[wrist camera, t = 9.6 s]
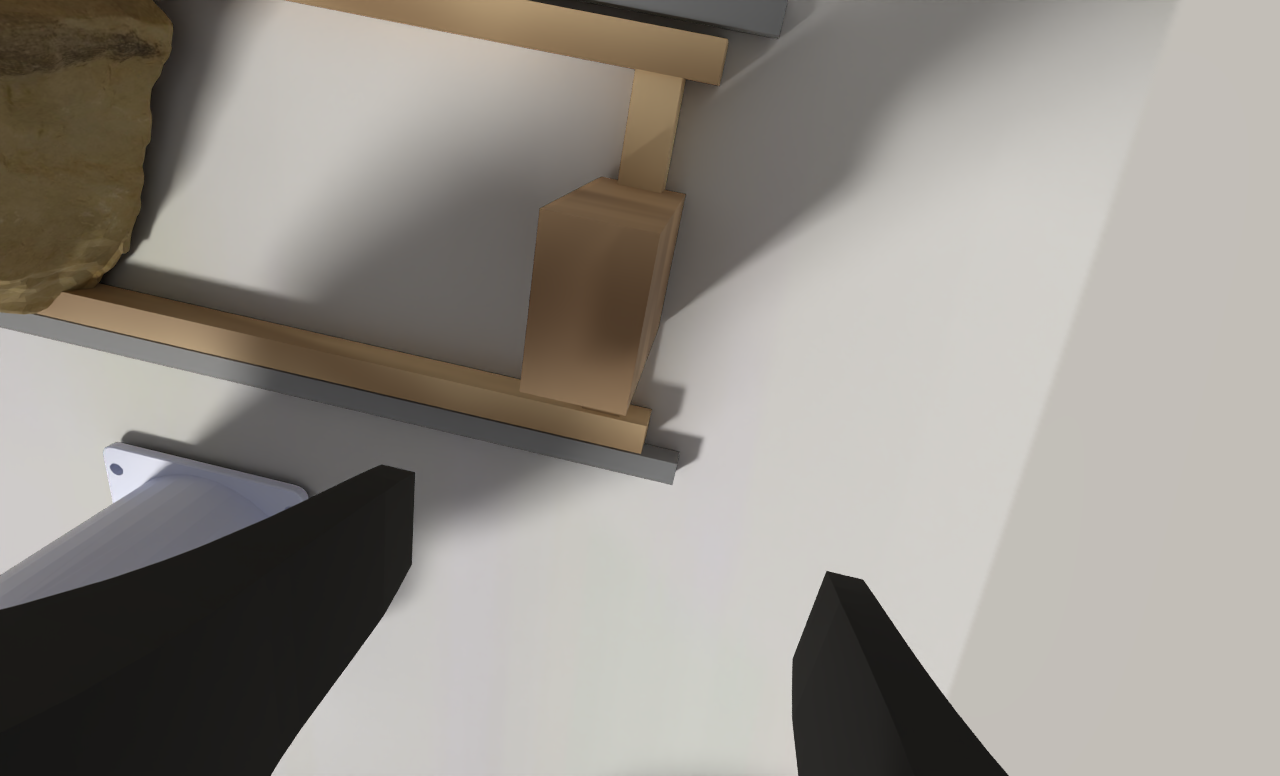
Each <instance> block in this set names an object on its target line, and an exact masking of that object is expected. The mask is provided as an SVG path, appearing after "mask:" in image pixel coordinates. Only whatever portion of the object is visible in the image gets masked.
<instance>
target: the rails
mask: <svg viewBox="0 0 1280 776" xmlns="http://www.w3.org/2000/svg"><path fill="white" fill-rule="evenodd" d="M578 1H583V2H589V3H594V4H599V5H604V6H609V7H615V8H620V9H625V10H630V11H636V12H641V13H646V14H651V15H656V16H662V17H667V18H672V19H677V20H682V21H688V22H693V23H698V24H703V25H708V26H714V27H719V28H724V29H729V30H735V31H740V32H745V33H750V34H755V35H761V36H766V37H771V38H776V39H778V38H779V36H780V32H781V28H782V24H783V19H784V15H785V11H786V7H787V3H788V0H578ZM0 327H1V328H6V329H10V330H14V331H18V332H23V333H27V334H31V335H35V336H40V337H44V338H48V339H52V340H57V341H61V342H65V343H69V344H74V345H78V346H82V347H86V348H91V349H95V350H99V351H104V352H108V353H112V354H116V355H121V356H125V357H129V358H133V359H138V360H142V361H146V362H150V363H155V364H159V365H163V366H167V367H172V368H176V369H180V370H184V371H189V372H193V373H197V374H201V375H206V376H210V377H214V378H219V379H223V380H227V381H231V382H236V383H240V384H244V385H248V386H253V387H257V388H261V389H265V390H270V391H274V392H278V393H282V394H287V395H291V396H295V397H299V398H304V399H308V400H312V401H316V402H321V403H325V404H329V405H334V406H338V407H342V408H346V409H351V410H355V411H359V412H363V413H368V414H372V415H376V416H380V417H385V418H389V419H393V420H397V421H402V422H406V423H410V424H414V425H419V426H423V427H427V428H431V429H436V430H440V431H444V432H449V433H453V434H457V435H461V436H466V437H470V438H474V439H478V440H483V441H487V442H491V443H495V444H500V445H504V446H508V447H512V448H517V449H521V450H525V451H529V452H534V453H538V454H542V455H546V456H551V457H555V458H559V459H564V460H568V461H572V462H576V463H581V464H585V465H589V466H593V467H598V468H602V469H606V470H610V471H615V472H619V473H623V474H627V475H632V476H636V477H640V478H644V479H649V480H653V481H657V482H661V483H666V484H670V485H672V484H673V480H674V476H675V472H676V467H677V463H678V457H679V452H677V451H673V450H669V449H664V448H660V447H656V446H651V445H647V444H644V445H643V449H642V452H641V454H639V453H634V452H630V451H626V450H621V449H617V448H613V447H609V446H604V445H600V444H596V443H591V442H587V441H583V440H578V439H574V438H570V437H566V436H561V435H557V434H553V433H548V432H544V431H540V430H535V429H531V428H527V427H523V426H518V425H514V424H510V423H505V422H501V421H497V420H492V419H488V418H484V417H480V416H475V415H471V414H467V413H462V412H458V411H454V410H449V409H445V408H441V407H437V406H432V405H428V404H424V403H419V402H415V401H411V400H406V399H402V398H398V397H394V396H389V395H385V394H381V393H376V392H372V391H368V390H363V389H359V388H355V387H351V386H346V385H342V384H338V383H333V382H329V381H325V380H320V379H316V378H312V377H308V376H303V375H299V374H295V373H290V372H286V371H282V370H277V369H273V368H269V367H265V366H260V365H256V364H252V363H247V362H243V361H239V360H234V359H230V358H226V357H222V356H217V355H213V354H209V353H204V352H200V351H196V350H191V349H187V348H183V347H179V346H174V345H170V344H166V343H161V342H157V341H153V340H148V339H144V338H140V337H136V336H131V335H127V334H123V333H118V332H114V331H110V330H106V329H101V328H97V327H93V326H88V325H84V324H80V323H75V322H71V321H67V320H63V319H58V318H54V317H50V316H45V315H41V314H37V313H34V314H11V313H1V312H0Z"/></svg>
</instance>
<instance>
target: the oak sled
mask: <svg viewBox="0 0 1280 776" xmlns="http://www.w3.org/2000/svg"><path fill="white" fill-rule="evenodd" d="M286 1H291V2H296V3H301V4H306V5H311V6H317V7H322V8H327V9H332V10H337V11H342V12H347V13H352V14H357V15H362V16H367V17H372V18H377V19H382V20H387V21H393V22H398V23H403V24H408V25H413V26H418V27H423V28H428V29H433V30H438V31H443V32H448V33H453V34H458V35H464V36H469V37H474V38H479V39H484V40H489V41H494V42H499V43H504V44H509V45H514V46H519V47H524V48H529V49H534V50H540V51H545V52H550V53H555V54H560V55H565V56H570V57H575V58H580V59H585V60H590V61H595V62H600V63H605V64H611V65H616V66H621V67H626V68H631V69H635V74H634V80H633V87H632V93H631V99H630V106H629V112H628V118H627V125H626V131H625V137H624V143H623V150H622V156H621V162H620V169H619V175H618V180H616V179H611V178H606V177H599V178H597V179H595V180H594V181H592V182H590V183H588V184H586V185H584V186H582V187H580V188H578V189H576V190H574V191H572V192H570V193H568V194H567V195H565V196H563V197H561V198H559V199H557V200H555V201H553V202H551V203H549V204H547V205H545V206H543V207H542V208H540V210H539V219H538V228H537V237H536V246H535V255H534V264H533V273H532V282H531V291H530V300H529V309H528V319H527V328H526V337H525V346H524V355H523V364H522V373H521V380H520V379H516V378H512V377H507V376H503V375H499V374H494V373H490V372H485V371H481V370H477V369H472V368H468V367H464V366H459V365H455V364H450V363H446V362H442V361H437V360H433V359H428V358H424V357H420V356H415V355H411V354H407V353H402V352H398V351H393V350H389V349H385V348H380V347H376V346H372V345H367V344H363V343H358V342H354V341H350V340H345V339H341V338H336V337H332V336H328V335H323V334H319V333H315V332H310V331H306V330H301V329H297V328H293V327H288V326H284V325H280V324H275V323H271V322H266V321H262V320H258V319H253V318H249V317H244V316H240V315H236V314H231V313H227V312H223V311H218V310H214V309H209V308H205V307H201V306H196V305H192V304H188V303H183V302H179V301H174V300H170V299H166V298H161V297H157V296H152V295H148V294H144V293H139V292H135V291H131V290H126V289H122V288H117V287H113V286H109V285H104V284H100V283H98V284H97V285H96V286H95V288H92V289H77V290H71V291H63V292H61V294H60V295H59V296H58V297H57V298H56V299H55V300H54V301H53V303H52V304H51V305H50V306H49V308H47V309H45V310H42V311H40V312H38V313H37V314H41V315H45V316H50V317H54V318H58V319H63V320H67V321H71V322H75V323H80V324H84V325H88V326H93V327H97V328H101V329H106V330H110V331H114V332H118V333H123V334H127V335H131V336H136V337H140V338H144V339H148V340H153V341H157V342H161V343H166V344H170V345H174V346H179V347H183V348H187V349H191V350H196V351H200V352H204V353H209V354H213V355H217V356H222V357H226V358H230V359H234V360H239V361H243V362H247V363H252V364H256V365H260V366H265V367H269V368H273V369H277V370H282V371H286V372H290V373H295V374H299V375H303V376H308V377H312V378H316V379H320V380H325V381H329V382H333V383H338V384H342V385H346V386H351V387H355V388H359V389H363V390H368V391H372V392H376V393H381V394H385V395H389V396H394V397H398V398H402V399H406V400H411V401H415V402H419V403H424V404H428V405H432V406H437V407H441V408H445V409H449V410H454V411H458V412H462V413H467V414H471V415H475V416H480V417H484V418H488V419H492V420H497V421H501V422H505V423H510V424H514V425H518V426H523V427H527V428H531V429H535V430H540V431H544V432H548V433H553V434H557V435H561V436H566V437H570V438H574V439H578V440H583V441H587V442H591V443H596V444H600V445H604V446H609V447H613V448H617V449H621V450H626V451H630V452H634V453H639V454H641V452H642V449H643V445H644V442H645V438H646V434H647V430H648V425H649V420H650V415H651V411H652V409H647V408H643V407H639V406H634V405H630V403H631V400H632V397H633V395H634V392H635V389H636V387H637V384H638V381H639V379H640V376H641V373H642V371H643V368H644V365H645V363H646V360H647V357H648V355H649V352H650V349H651V347H652V344H653V342H654V339H655V336H656V334H657V331H658V328H659V323H660V318H661V313H662V308H663V303H664V298H665V293H666V288H667V283H668V278H669V274H670V269H671V264H672V259H673V254H674V249H675V244H676V239H677V234H678V229H679V224H680V219H681V214H682V209H683V205H684V200H685V195H686V194H683V193H678V192H673V191H668V190H665V187H666V182H667V177H668V171H669V166H670V161H671V155H672V150H673V145H674V140H675V134H676V129H677V124H678V118H679V113H680V108H681V103H682V97H683V92H684V87H685V81H686V79H687V80H692V81H697V82H702V83H707V84H712V85H717V86H720V82H721V78H722V73H723V68H724V63H725V59H726V54H727V49H728V44H729V42H728V39H725V38H720V37H715V36H710V35H704V34H699V33H694V32H689V31H684V30H678V29H673V28H668V27H663V26H658V25H653V24H647V23H642V22H637V21H632V20H627V19H621V18H616V17H611V16H606V15H601V14H595V13H590V12H585V11H580V10H575V9H570V8H564V7H559V6H554V5H549V4H544V3H538V2H533V1H528V0H286Z"/></svg>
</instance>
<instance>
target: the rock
mask: <svg viewBox="0 0 1280 776" xmlns="http://www.w3.org/2000/svg"><path fill="white" fill-rule="evenodd" d="M172 36H173V23H172V22H171V21H170V19H169V18H168V16H167V15H166V14H165V12H163V11H162V10H161V9H160V8H159V7H158V6H157V5H156V4H155V2H154V1H153V0H0V312H1V313H11V314H34V313H38V312H40V311H42V310H45V309H47V308H49V306H50V305H51V304H52V303H53V301H54V300H55V299H56V298H57V297H58V296H59V295H60V294H61V292H63V291H71V290H77V289H92V288H95V286H96V285H97V284H98V283H99V282H100V280H101V278H102V276H103V275H104V274H105V273H106V272H108V271H109V270H111V269H112V268H113V267H114V266H115V265H116V263H117V261H118V260H119V258H120V257H121V255H122V253H124V254H126V253H127V252H128V251H129V249H130V241H131V233H132V229H133V226H134V223H135V221H136V218H137V215H138V214H139V212H140V209H141V199H140V196H141V192H142V188H143V185H144V172H143V167H142V165H143V162H144V158H145V149H146V146H147V145H148V144H149V143H150V141H151V127H152V114H151V110H150V100H151V90H152V87H153V85H154V84H155V82H156V81H157V79H158V78H159V76H160V74H161V72H162V68H163V65H164V63H165V62H166V61H167V59H168V58H169V55H170V52H171V50H172V46H171V43H172Z"/></svg>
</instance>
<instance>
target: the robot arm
mask: <svg viewBox="0 0 1280 776" xmlns="http://www.w3.org/2000/svg"><path fill="white" fill-rule="evenodd" d="M103 456H104V461H105V466H106V471H107V476H108V481H109V486H110V491H111V496H112V501H113V504H111V505H110V506H108V507H107V508H105V509H103V510H102V511H100V512H99V513H97V514H96V515H94V516H92V517H91V518H89V519H88V520H86V521H85V522H83V523H81V524H80V525H78V526H77V527H75V528H74V529H72V530H70V531H69V532H67V533H66V534H64V535H63V536H61V537H59V538H58V539H56V540H55V541H53V542H52V543H50V544H48V545H47V546H45V547H44V548H42V549H41V550H39V551H37V552H36V553H34V554H33V555H31V556H30V557H28V558H26V559H25V560H23V561H22V562H20V563H19V564H17V565H15V566H14V567H12V568H11V569H9V570H8V571H6V572H4V573H3V574H1V575H0V776H271V774H272V772H273V771H274V769H275V767H276V766H277V764H278V762H279V761H280V759H281V758H282V756H283V755H284V753H285V752H286V750H287V749H288V747H289V746H290V744H291V743H292V741H293V740H294V738H295V737H296V735H297V734H298V732H299V731H300V730H301V728H302V727H303V726H304V724H305V723H306V721H307V720H308V719H309V717H310V716H311V715H312V713H313V712H314V711H315V709H316V708H317V706H318V705H319V704H320V702H321V701H322V700H323V698H324V697H325V696H326V694H327V693H328V691H329V690H330V689H331V687H332V686H333V685H334V683H335V682H336V681H337V679H338V678H339V676H340V675H341V674H342V672H343V671H344V670H345V668H346V667H347V666H348V664H349V663H350V661H351V660H352V659H353V657H354V656H355V655H356V653H357V652H358V650H359V649H360V648H361V646H362V645H363V644H364V642H365V641H366V639H367V638H368V637H369V635H370V634H371V632H372V631H373V630H374V628H375V627H376V625H377V624H378V623H379V621H380V620H381V618H382V617H383V616H384V614H385V612H386V610H387V609H388V607H389V605H390V603H391V602H392V600H393V598H394V596H395V595H396V593H397V591H398V589H399V587H400V585H401V584H402V582H403V580H404V578H405V576H406V574H407V572H408V570H409V569H410V567H411V565H412V540H413V513H414V486H415V472H411V471H407V470H402V469H398V468H394V467H390V466H386V465H380V466H377V467H375V468H372V469H370V470H368V471H366V472H363V473H361V474H359V475H357V476H355V477H353V478H351V479H349V480H347V481H344V482H342V483H340V484H338V485H336V486H334V487H332V488H330V489H328V490H326V491H324V492H322V493H320V494H318V495H316V496H313V497H311V498H309V497H308V494H307V493H306V491H305V490H304V489H303V488H301V487H299V486H297V485H293V484H289V483H285V482H281V481H277V480H273V479H269V478H265V477H260V476H256V475H252V474H248V473H244V472H240V471H236V470H232V469H228V468H223V467H219V466H215V465H211V464H207V463H203V462H199V461H195V460H191V459H186V458H182V457H178V456H174V455H170V454H166V453H162V452H158V451H154V450H149V449H145V448H141V447H137V446H133V445H129V444H125V443H121V442H115V443H113V444H111V445H109V446H107V447H105V449H104V450H103ZM792 721H793V731H794V740H795V749H796V758H797V767H798V776H1008V775H1007V773H1006V772H1005V771H1004V770H1003V768H1002V767H1001V766H1000V765H999V764H998V763H997V761H996V760H995V759H994V758H993V757H992V756H991V755H990V753H989V752H988V751H987V750H986V748H985V747H984V746H983V745H982V743H981V742H980V741H979V740H978V738H977V737H976V736H975V735H974V733H973V732H972V731H971V730H970V728H969V727H968V726H967V724H966V723H965V722H964V721H963V719H962V718H961V717H960V716H959V715H958V713H957V712H956V711H955V709H954V708H953V707H952V705H951V704H950V703H949V701H948V700H947V699H946V697H945V696H944V695H943V693H942V692H941V691H940V689H939V688H938V687H937V685H936V684H935V683H934V681H933V680H932V679H931V677H930V676H929V674H928V673H927V672H926V670H925V669H924V667H923V666H922V665H921V663H920V662H919V660H918V659H917V658H916V656H915V655H914V653H913V652H912V650H911V649H910V648H909V646H908V645H907V643H906V642H905V640H904V639H903V637H902V636H901V634H900V633H899V631H898V630H897V629H896V627H895V626H894V624H893V623H892V621H891V620H890V618H889V617H888V615H887V614H886V612H885V611H884V609H883V608H882V606H881V605H880V603H879V602H878V600H877V599H876V598H875V596H874V595H873V593H872V592H871V590H870V589H869V587H868V586H867V585H866V583H865V582H864V580H862V579H858V578H854V577H850V576H845V575H841V574H837V573H833V572H829V571H826V574H825V576H824V579H823V582H822V584H821V587H820V589H819V592H818V595H817V597H816V600H815V602H814V605H813V608H812V610H811V613H810V615H809V618H808V620H807V623H806V626H805V628H804V631H803V633H802V636H801V639H800V641H799V644H798V646H797V649H796V652H795V654H794V657H793V666H792Z"/></svg>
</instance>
